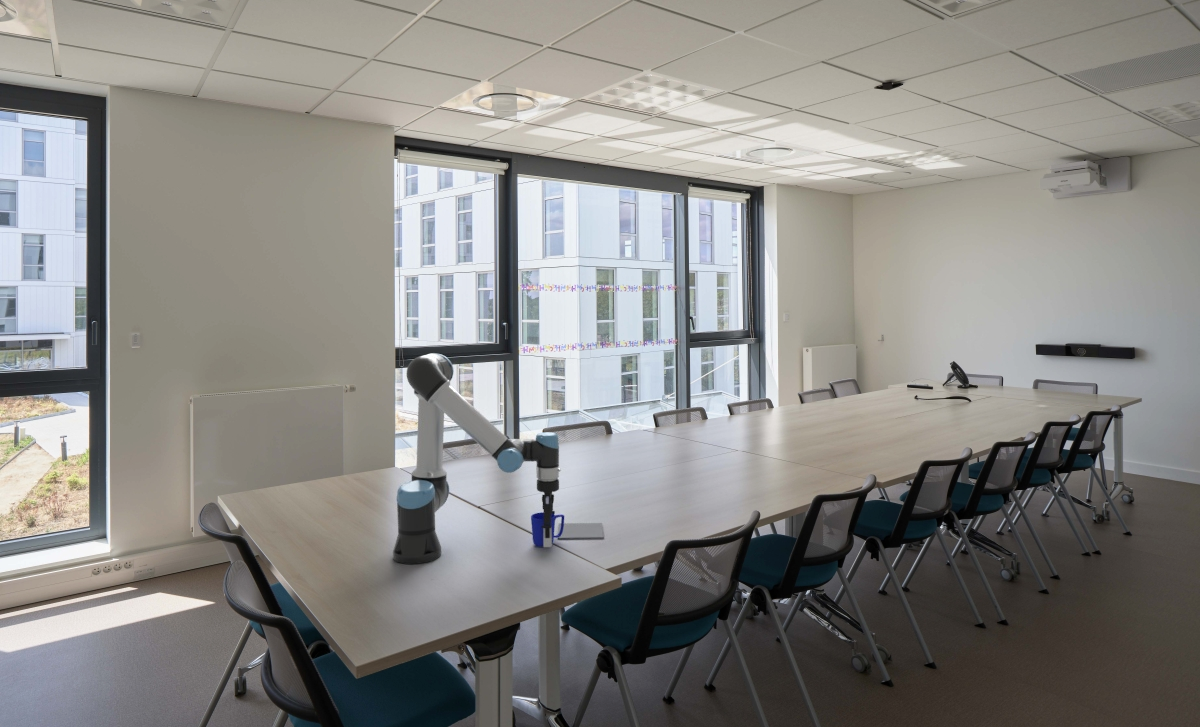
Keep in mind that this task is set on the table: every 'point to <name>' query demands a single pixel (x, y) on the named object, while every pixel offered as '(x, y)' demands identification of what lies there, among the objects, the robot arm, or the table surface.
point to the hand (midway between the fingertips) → (548, 540)
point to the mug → (538, 531)
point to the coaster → (581, 531)
